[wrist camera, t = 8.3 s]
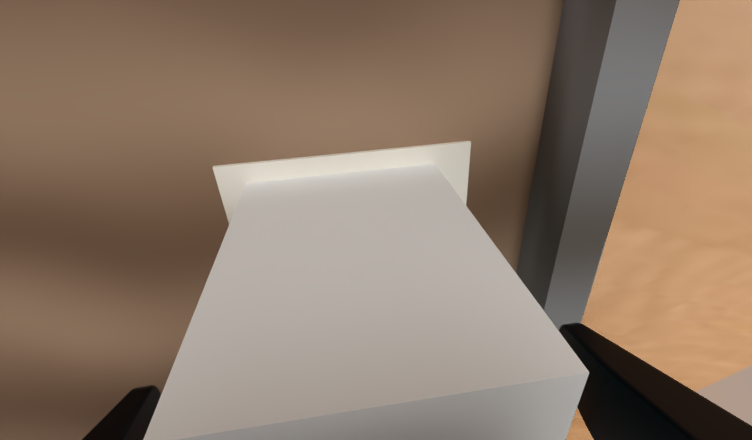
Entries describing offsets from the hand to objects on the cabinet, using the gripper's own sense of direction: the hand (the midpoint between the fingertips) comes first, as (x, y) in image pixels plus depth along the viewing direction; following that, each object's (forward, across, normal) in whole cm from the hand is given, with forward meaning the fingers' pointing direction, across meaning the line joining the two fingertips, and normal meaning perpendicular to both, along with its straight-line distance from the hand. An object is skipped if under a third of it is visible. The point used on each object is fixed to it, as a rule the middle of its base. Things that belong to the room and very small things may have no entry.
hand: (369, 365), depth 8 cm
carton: (+3, 0, 0) cm, 3 cm away
